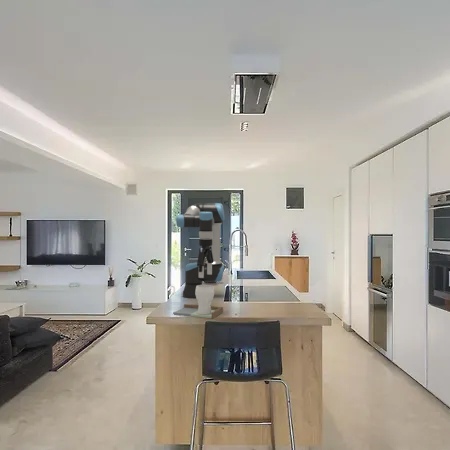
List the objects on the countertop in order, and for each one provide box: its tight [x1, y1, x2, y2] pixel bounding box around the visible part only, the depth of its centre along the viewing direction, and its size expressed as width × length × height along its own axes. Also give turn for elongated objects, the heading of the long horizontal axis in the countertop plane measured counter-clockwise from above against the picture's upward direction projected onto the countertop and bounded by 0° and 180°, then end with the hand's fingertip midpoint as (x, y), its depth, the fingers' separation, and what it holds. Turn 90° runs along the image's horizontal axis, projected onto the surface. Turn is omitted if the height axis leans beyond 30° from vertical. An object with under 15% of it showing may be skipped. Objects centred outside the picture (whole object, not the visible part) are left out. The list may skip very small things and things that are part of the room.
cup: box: [195, 284, 215, 314], centre depth 240 cm, size 11×11×15 cm
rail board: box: [172, 303, 224, 319], centre depth 244 cm, size 16×24×3 cm, turn 72°
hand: (205, 276), depth 244 cm, fingers open, 13 cm apart
